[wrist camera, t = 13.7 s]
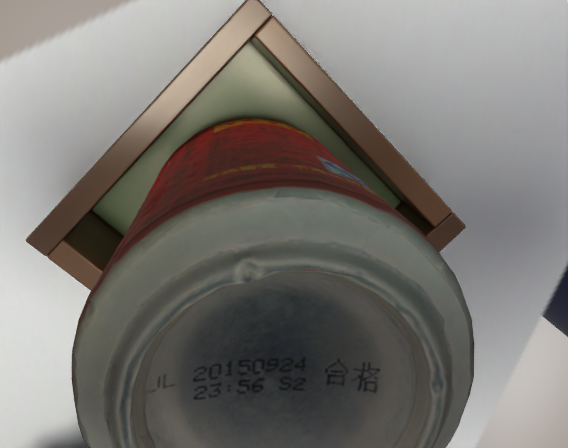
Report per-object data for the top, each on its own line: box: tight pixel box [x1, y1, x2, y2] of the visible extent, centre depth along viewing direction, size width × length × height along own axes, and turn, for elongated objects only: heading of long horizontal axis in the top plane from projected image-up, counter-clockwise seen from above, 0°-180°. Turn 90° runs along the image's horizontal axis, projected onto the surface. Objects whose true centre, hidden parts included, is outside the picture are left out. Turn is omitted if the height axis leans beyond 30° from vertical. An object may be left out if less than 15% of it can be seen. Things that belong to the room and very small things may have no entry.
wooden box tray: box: [26, 0, 465, 291], centre depth 19 cm, size 10×10×4 cm
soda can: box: [72, 118, 474, 448], centre depth 14 cm, size 7×7×12 cm
